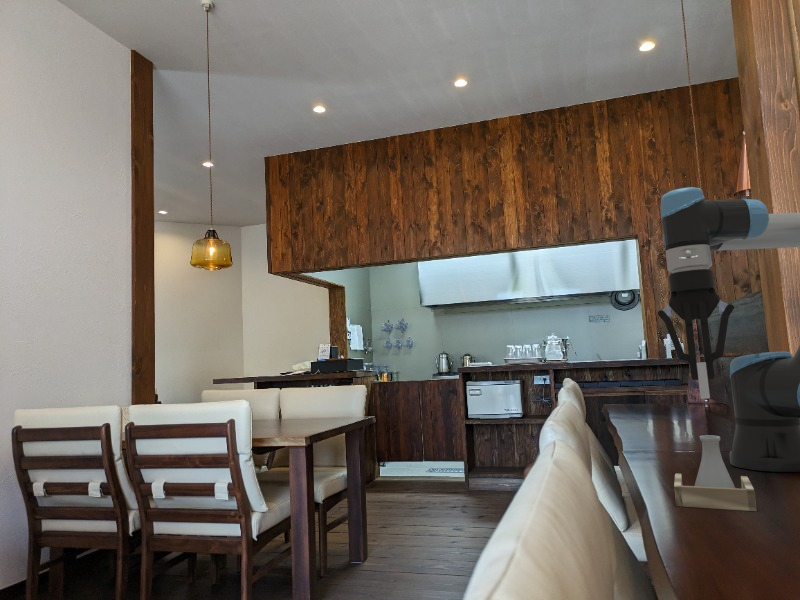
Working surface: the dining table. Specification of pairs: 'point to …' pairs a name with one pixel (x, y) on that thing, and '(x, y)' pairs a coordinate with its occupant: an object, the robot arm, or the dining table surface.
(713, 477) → the flask
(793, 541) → the dining table surface
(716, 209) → the robot arm
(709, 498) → the caddy
